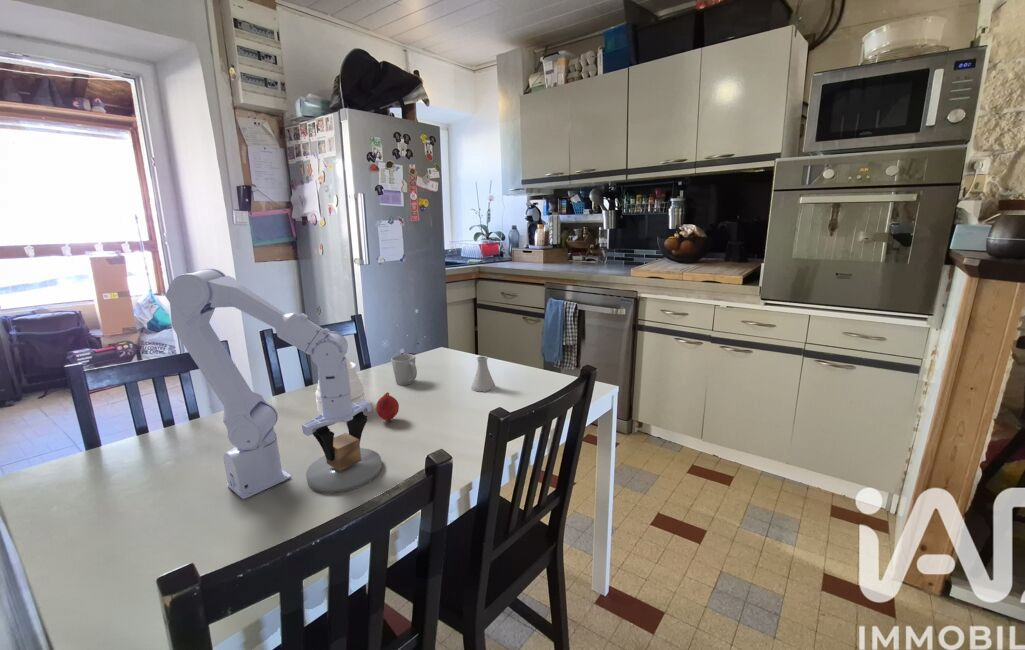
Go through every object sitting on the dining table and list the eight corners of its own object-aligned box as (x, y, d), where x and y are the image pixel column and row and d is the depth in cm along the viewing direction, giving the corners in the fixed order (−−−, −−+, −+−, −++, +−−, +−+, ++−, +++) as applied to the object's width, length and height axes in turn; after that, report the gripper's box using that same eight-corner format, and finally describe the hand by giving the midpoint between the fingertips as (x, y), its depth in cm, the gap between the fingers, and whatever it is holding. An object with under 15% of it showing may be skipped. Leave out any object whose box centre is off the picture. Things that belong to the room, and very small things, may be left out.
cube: (340, 471, 94) (337, 448, 93) (326, 463, 97) (324, 441, 96) (361, 460, 98) (359, 439, 96) (348, 453, 101) (345, 432, 99)
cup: (408, 376, 154) (406, 352, 152) (426, 383, 148) (424, 358, 146) (388, 383, 149) (386, 358, 147) (406, 390, 142) (404, 364, 140)
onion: (393, 426, 118) (391, 397, 116) (373, 425, 119) (370, 396, 118) (403, 416, 124) (401, 389, 122) (383, 415, 125) (381, 387, 123)
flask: (481, 382, 148) (480, 352, 145) (499, 386, 144) (498, 356, 141) (466, 389, 142) (465, 358, 140) (485, 394, 138) (483, 362, 136)
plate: (332, 502, 88) (331, 495, 87) (293, 476, 97) (292, 469, 96) (396, 467, 99) (395, 461, 99) (355, 447, 108) (355, 441, 108)
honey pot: (364, 395, 139) (358, 338, 135) (365, 412, 128) (359, 349, 123) (319, 401, 136) (311, 342, 131) (315, 419, 124) (307, 355, 119)
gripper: (311, 409, 86) (320, 474, 89) (377, 386, 97) (383, 444, 100) (293, 400, 90) (302, 463, 93) (358, 379, 101) (364, 435, 104)
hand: (343, 453), depth 97 cm, fingers open, 5 cm apart
